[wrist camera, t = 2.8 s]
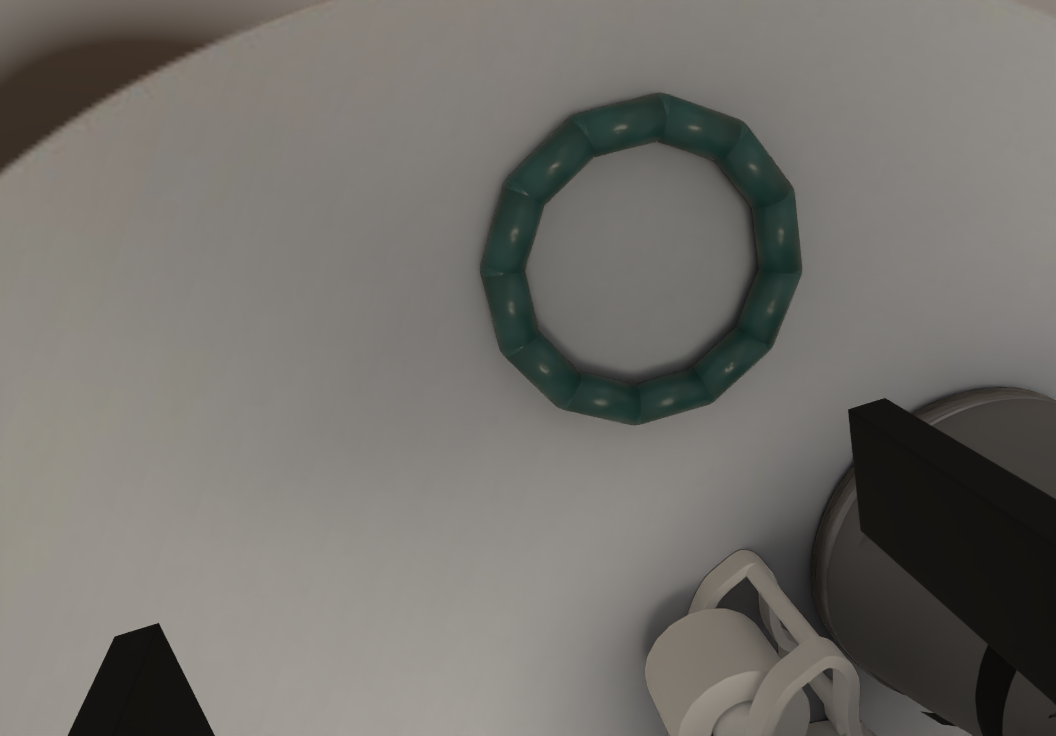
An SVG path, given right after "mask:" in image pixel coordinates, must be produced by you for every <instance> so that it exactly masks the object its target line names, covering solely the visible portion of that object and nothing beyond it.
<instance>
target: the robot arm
mask: <svg viewBox="0 0 1056 736" xmlns="http://www.w3.org/2000/svg"><path fill="white" fill-rule="evenodd" d="M848 414H849V423H850V433H851V443H852V453H853V463H854V465H853V466H852V467H851V469H850V470H849V471H848V472H847V474H846V475H845V477H844V478H843V480H842V481H841V483H840V484H839V486H838V487H837V489H836V491H835V493H834V494H833V496H832V498H831V500H830V502H829V504H828V506H827V508H826V510H825V513H824V515H823V518H822V520H821V523H820V526H819V529H818V532H817V536H816V540H815V544H814V550H813V557H812V572H811V573H812V587H813V593H814V599H815V602H816V606H817V609H818V612H819V614H820V616H821V619H822V621H823V623H824V624H825V626H826V628H827V629H828V631H829V632H830V634H831V635H832V636H833V637H834V639H835V640H836V641H837V642H838V644H839V645H840V646H841V647H842V648H843V649H844V651H845V652H846V653H847V654H848V655H849V656H850V658H851V659H852V660H853V661H854V662H856V663H857V664H858V665H859V666H860V667H861V668H863V669H864V670H865V671H866V672H867V673H868V674H869V675H871V676H872V677H873V678H874V679H876V680H877V681H878V682H880V683H881V684H883V685H885V686H886V687H888V688H890V689H893V690H895V691H897V692H899V693H901V694H903V695H906V696H908V697H909V698H911V699H912V700H914V701H916V702H917V703H919V704H920V705H922V706H924V707H925V708H927V709H929V710H930V711H932V712H934V713H928V712H922V713H924V714H926V715H927V716H929V717H931V718H932V719H934V720H936V721H937V722H939V723H941V724H942V725H950V726H957V727H959V728H961V729H963V730H964V731H966V732H968V733H970V734H971V735H973V736H1056V400H1053V399H1051V398H1049V397H1047V396H1044V395H1042V394H1039V393H1035V392H1032V391H1028V390H1022V389H1017V388H985V389H979V390H972V391H968V392H964V393H960V394H956V395H953V396H950V397H947V398H944V399H942V400H939V401H937V402H935V403H933V404H930V405H928V406H926V407H924V408H922V409H920V410H919V411H917V412H915V413H913V414H911V413H909V412H908V411H906V410H904V409H903V408H901V407H899V406H898V405H896V404H894V403H893V402H891V401H889V400H887V399H886V398H884V399H880V400H877V401H874V402H871V403H867V404H864V405H861V406H858V407H854V408H851V409H848ZM68 736H215V735H214V733H213V731H212V729H211V727H210V725H209V723H208V721H207V719H206V717H205V715H204V713H203V711H202V709H201V707H200V705H199V703H198V701H197V699H196V697H195V695H194V693H193V691H192V689H191V687H190V685H189V683H188V681H187V679H186V677H185V675H184V673H183V671H182V669H181V667H180V665H179V663H178V661H177V659H176V657H175V655H174V653H173V651H172V649H171V647H170V645H169V643H168V641H167V639H166V637H165V635H164V633H163V631H162V629H161V627H160V625H159V623H157V624H154V625H151V626H147V627H144V628H141V629H138V630H134V631H131V632H128V633H125V634H122V635H118V636H115V637H114V639H113V641H112V644H111V646H110V648H109V650H108V652H107V654H106V656H105V658H104V660H103V662H102V665H101V667H100V669H99V671H98V673H97V675H96V677H95V679H94V681H93V684H92V686H91V688H90V690H89V692H88V694H87V696H86V698H85V700H84V702H83V705H82V707H81V709H80V711H79V713H78V715H77V717H76V719H75V721H74V723H73V726H72V728H71V730H70V732H69V734H68Z"/></svg>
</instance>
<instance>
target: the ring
mask: <svg viewBox="0 0 1056 736" xmlns="http://www.w3.org/2000/svg"><path fill="white" fill-rule="evenodd" d="M656 141H658V142H661V143H664V144H667V145H670V146H673V147H677V148H680V149H683V150H686V151H689V152H692V153H695V154H698V155H701V156H704V157H707V158H710V159H713V160H715V161H716V162H717V164H718V165H719V166H720V167H721V169H722V170H723V171H724V173H725V174H726V175H727V176H728V178H729V179H730V180H731V181H732V183H733V184H734V185H735V187H736V188H737V189H738V190H739V192H740V193H741V194H742V195H743V197H744V198H745V199H746V201H747V202H748V203H749V204H750V206H751V207H752V215H753V224H754V232H755V240H756V248H757V257H758V265H759V268H758V271H757V274H756V276H755V279H754V281H753V284H752V287H751V289H750V292H749V294H748V297H747V300H746V302H745V305H744V308H743V310H742V313H741V315H740V318H739V321H738V323H737V326H736V327H735V328H734V329H733V330H732V331H731V332H729V333H728V334H727V335H726V336H725V337H724V338H723V339H722V340H721V341H720V342H719V343H718V344H716V345H715V346H714V347H713V348H712V349H711V350H710V351H709V352H708V353H707V354H706V355H705V356H704V357H702V358H701V359H700V360H699V361H698V362H697V363H696V364H695V365H694V366H693V367H692V368H690V369H686V370H683V371H679V372H676V373H672V374H669V375H665V376H662V377H658V378H655V379H651V380H648V381H644V382H641V383H637V384H630V383H626V382H622V381H618V380H614V379H609V378H605V377H601V376H597V375H593V374H589V373H584V372H580V371H578V370H577V369H576V368H575V367H574V366H573V365H572V364H571V363H570V362H569V361H568V360H567V359H566V358H565V357H564V356H563V355H562V354H561V353H560V352H559V351H558V350H557V349H556V348H555V347H554V345H553V344H552V343H551V342H550V341H549V340H548V339H547V338H546V337H545V336H544V335H543V334H542V333H541V332H540V331H539V330H538V325H537V321H536V316H535V312H534V308H533V303H532V299H531V295H530V290H529V286H528V282H527V277H526V273H525V268H526V265H527V261H528V258H529V255H530V251H531V248H532V245H533V242H534V238H535V235H536V232H537V228H538V225H539V222H540V219H541V215H542V212H543V209H544V205H545V204H547V203H548V202H549V201H550V200H551V199H552V198H553V197H554V196H555V195H556V194H557V193H558V192H559V191H560V190H561V189H562V188H563V187H564V186H565V185H566V184H567V183H568V182H569V181H570V180H571V179H572V178H573V177H574V176H575V175H576V174H577V173H578V172H579V171H580V170H581V169H582V168H583V167H584V166H585V165H587V164H588V163H589V162H590V161H591V160H592V159H593V158H594V157H597V156H601V155H605V154H609V153H613V152H617V151H621V150H625V149H629V148H632V147H636V146H640V145H644V144H648V143H652V142H656ZM480 273H481V277H482V281H483V285H484V289H485V293H486V297H487V301H488V305H489V309H490V313H491V317H492V321H493V325H494V329H495V333H496V337H497V341H498V345H499V348H500V351H501V353H502V354H503V355H504V356H505V357H506V358H507V359H508V360H509V361H510V362H511V363H512V364H513V365H514V366H515V367H516V368H517V369H518V370H519V371H520V372H521V373H522V374H523V375H524V376H525V377H526V378H527V379H528V380H529V381H530V382H531V383H532V384H534V385H535V386H536V387H537V388H538V389H539V390H540V391H541V392H542V393H543V394H544V395H545V396H546V397H547V398H548V399H549V400H550V401H551V402H552V403H553V404H554V405H555V406H557V407H558V408H560V409H563V410H567V411H571V412H576V413H580V414H585V415H589V416H594V417H598V418H602V419H607V420H611V421H616V422H620V423H624V424H629V425H640V424H644V423H647V422H651V421H654V420H657V419H661V418H664V417H668V416H671V415H675V414H678V413H682V412H685V411H688V410H692V409H695V408H699V407H702V406H706V405H709V404H711V403H713V402H714V401H715V400H716V399H718V398H719V397H720V396H721V395H722V394H723V393H724V392H725V391H726V390H727V389H728V388H730V387H731V386H732V385H733V384H734V383H735V382H736V381H737V380H738V379H739V378H740V377H742V376H743V375H744V374H745V373H746V372H747V371H748V370H749V369H750V368H751V367H752V366H754V365H755V364H756V363H757V362H758V361H759V360H760V359H761V358H762V357H763V356H764V355H766V354H767V353H768V352H769V351H770V350H771V348H772V347H773V345H774V342H775V340H776V337H777V335H778V332H779V330H780V327H781V325H782V322H783V320H784V317H785V315H786V312H787V310H788V307H789V305H790V302H791V300H792V297H793V295H794V292H795V290H796V287H797V285H798V282H799V280H800V277H801V274H802V259H801V249H800V240H799V230H798V220H797V210H796V200H795V192H794V188H793V186H792V185H791V183H790V182H789V181H788V179H787V178H786V177H785V175H784V174H783V173H782V171H781V170H780V169H779V167H778V166H777V165H776V163H775V162H774V161H773V159H772V158H771V157H770V155H769V154H768V153H767V151H766V150H765V149H764V147H763V146H762V145H761V143H760V142H759V141H758V139H757V138H756V137H755V135H754V134H753V133H752V131H751V130H750V129H749V127H748V126H747V125H746V124H745V123H744V122H743V121H741V120H739V119H737V118H734V117H731V116H728V115H725V114H723V113H720V112H717V111H714V110H711V109H708V108H705V107H703V106H700V105H697V104H694V103H691V102H688V101H685V100H682V99H680V98H677V97H674V96H671V95H668V94H664V93H656V94H652V95H648V96H644V97H640V98H636V99H632V100H628V101H624V102H620V103H616V104H611V105H607V106H603V107H599V108H595V109H591V110H587V111H583V112H579V113H576V114H574V115H572V116H570V117H569V118H568V119H567V120H566V121H565V122H564V123H563V124H562V125H561V126H560V127H559V128H558V129H557V130H556V131H555V132H554V133H552V134H551V135H550V136H549V137H548V138H547V139H546V140H545V141H544V142H543V143H542V144H541V145H540V146H539V147H538V148H537V149H536V150H535V151H534V152H533V153H532V154H531V155H530V156H529V157H528V158H527V159H526V160H525V161H524V162H523V163H522V164H521V165H520V166H519V167H518V168H517V169H516V170H515V171H514V172H513V173H512V174H511V175H510V176H509V177H508V178H507V179H506V181H505V183H504V185H503V188H502V192H501V195H500V199H499V202H498V206H497V209H496V213H495V216H494V220H493V223H492V226H491V230H490V233H489V237H488V240H487V244H486V247H485V251H484V254H483V258H482V261H481V265H480Z"/></svg>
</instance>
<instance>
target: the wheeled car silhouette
mask: <svg viewBox="0 0 1056 736" xmlns="http://www.w3.org/2000/svg"><path fill="white" fill-rule="evenodd" d="M745 577H747V578H748V579H749V580H750V582H751V583H752V584H753V585H754V587H755V588H756V589H757V591H758V592H759V609H760V614H761V617H762V620H763V623H764V625H765V627H766V628H767V630H768V631H769V633H770V634H771V635H772V637H773V638H774V639H775V641H776V642H777V643H778V645H779V646H778V654H777V652H776V651H775V650H774V648H773V647H772V645H771V644H770V643H769V641H768V640H767V638H766V637H765V636H764V634H763V633H762V632H761V630H760V629H759V627H758V626H757V625H756V623H754V622H753V621H752V620H751V619H749V618H748V617H747V616H745V615H744V614H742V613H739V612H736V611H733V610H729V609H715V608H716V606H717V605H718V603H719V601H720V600H721V598H722V597H723V596H724V595H725V594H726V593H727V592H728V591H730V590H731V589H732V588H733V587H734V586H735V585H737V584H738V583H739V582H740V581H741V580H743V579H744V578H745ZM780 620H781V622H782V623H783V624H784V626H785V627H786V628H787V629H788V631H789V632H788V631H787V630H785V629H783V628H782V627H781V624H780ZM827 668H833V682H832V681H831V680H830V679H829V678H827V677H826V675H825V674H824V673H823V671H824V670H825V669H827ZM645 677H646V683H647V688H648V690H649V692H650V694H651V697H652V699H653V701H654V703H655V705H656V707H657V710H658V712H659V714H660V716H661V718H662V720H663V723H664V725H665V727H666V729H667V731H668V733H669V736H876V735H875V734H874V733H872V732H871V731H870V730H868V729H867V728H866V727H865V725H864V724H863V723H862V721H861V720H860V719H859V703H860V682H859V677H858V674H857V672H856V670H855V668H854V666H853V665H852V664H851V663H850V661H849V660H848V659H847V658H846V657H845V655H844V654H843V653H842V652H841V651H840V649H839V648H838V647H837V646H836V645H835V644H834V643H833V642H832V641H830V640H829V639H826V638H823V637H820V636H819V635H818V634H817V633H816V631H815V630H814V629H813V628H812V627H811V625H810V624H809V623H808V622H807V620H806V619H805V618H804V617H803V616H802V614H801V613H800V612H799V611H798V610H797V608H796V607H795V606H794V605H793V603H792V602H791V601H790V600H789V599H788V597H787V596H786V595H785V594H784V593H783V591H782V590H781V589H780V588H779V586H778V582H777V580H776V578H775V576H774V574H773V573H772V571H771V570H770V569H769V568H768V567H767V565H766V564H765V563H764V562H763V561H762V559H761V558H760V557H759V556H758V555H757V554H755V553H754V552H751V551H749V550H739V551H737V552H735V553H734V554H732V555H731V556H729V557H728V558H726V559H725V560H724V561H723V562H722V563H721V564H720V565H718V566H717V567H716V568H715V569H714V570H712V571H711V572H710V573H709V574H708V575H707V576H706V577H705V579H704V580H703V582H702V583H701V585H700V587H699V588H698V590H697V592H696V594H695V596H694V599H693V601H692V604H691V606H690V609H689V612H688V615H687V616H685V617H683V618H682V619H680V620H678V621H677V622H675V623H673V624H672V625H670V626H669V627H668V628H667V629H666V630H665V631H664V632H663V633H662V634H661V635H660V636H659V637H658V638H657V640H656V642H655V643H654V645H653V647H652V649H651V651H650V652H649V654H648V657H647V662H646V668H645ZM807 683H809V684H810V686H811V687H812V688H813V690H814V691H815V692H816V694H817V695H818V696H819V698H820V699H821V700H822V702H823V703H824V704H825V714H826V716H827V718H828V719H829V720H828V721H820V722H814V723H810V724H809V721H810V718H811V717H810V707H809V700H808V698H807V696H806V694H805V693H804V691H803V689H802V687H803V686H805V685H806V684H807Z"/></svg>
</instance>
